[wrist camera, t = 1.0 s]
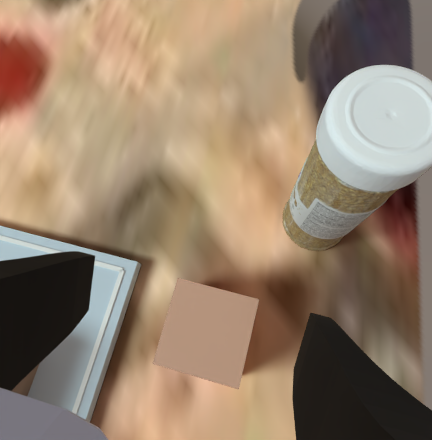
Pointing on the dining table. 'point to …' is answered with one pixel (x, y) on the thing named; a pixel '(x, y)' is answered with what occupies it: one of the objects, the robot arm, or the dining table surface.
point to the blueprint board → (79, 325)
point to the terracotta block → (207, 333)
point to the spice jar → (361, 153)
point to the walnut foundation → (26, 383)
